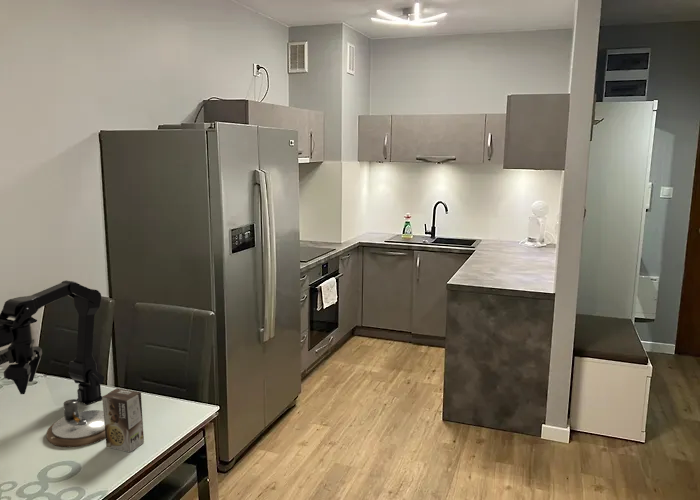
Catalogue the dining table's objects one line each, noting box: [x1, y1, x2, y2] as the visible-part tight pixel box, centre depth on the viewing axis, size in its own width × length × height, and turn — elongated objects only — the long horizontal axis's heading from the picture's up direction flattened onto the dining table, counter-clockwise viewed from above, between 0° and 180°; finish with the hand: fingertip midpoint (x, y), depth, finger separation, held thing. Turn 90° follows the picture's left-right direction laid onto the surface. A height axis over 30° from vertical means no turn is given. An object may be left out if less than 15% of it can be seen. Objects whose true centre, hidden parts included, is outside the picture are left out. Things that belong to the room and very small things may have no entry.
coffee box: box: [101, 387, 145, 453], centre depth 165 cm, size 9×6×16 cm
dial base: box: [46, 423, 106, 448], centre depth 175 cm, size 20×20×2 cm
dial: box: [52, 398, 105, 440], centre depth 174 cm, size 17×17×6 cm
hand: (26, 387), depth 173 cm, fingers open, 9 cm apart
